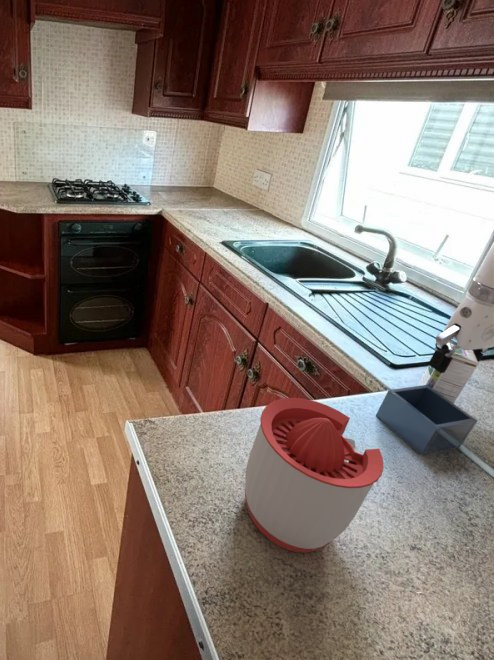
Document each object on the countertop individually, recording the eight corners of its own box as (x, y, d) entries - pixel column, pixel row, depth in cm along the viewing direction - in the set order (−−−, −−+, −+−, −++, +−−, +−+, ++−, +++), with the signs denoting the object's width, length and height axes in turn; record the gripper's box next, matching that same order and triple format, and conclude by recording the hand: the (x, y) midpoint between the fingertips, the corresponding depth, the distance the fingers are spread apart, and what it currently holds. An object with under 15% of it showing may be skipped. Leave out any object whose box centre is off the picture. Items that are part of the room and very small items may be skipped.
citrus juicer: (373, 558, 58) (436, 461, 49) (265, 577, 54) (311, 475, 45) (307, 467, 71) (347, 378, 63) (217, 477, 68) (246, 384, 59)
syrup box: (412, 392, 93) (440, 339, 87) (442, 402, 91) (474, 349, 85) (415, 406, 89) (445, 352, 82) (447, 417, 87) (480, 362, 80)
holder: (412, 409, 89) (426, 384, 86) (460, 447, 80) (478, 420, 77) (375, 415, 86) (388, 389, 83) (420, 455, 77) (437, 428, 74)
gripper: (481, 305, 72) (437, 382, 80) (545, 300, 77) (498, 374, 85) (441, 286, 78) (404, 360, 86) (503, 283, 83) (462, 353, 91)
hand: (451, 366), depth 85 cm, fingers closed on syrup box, 8 cm apart
